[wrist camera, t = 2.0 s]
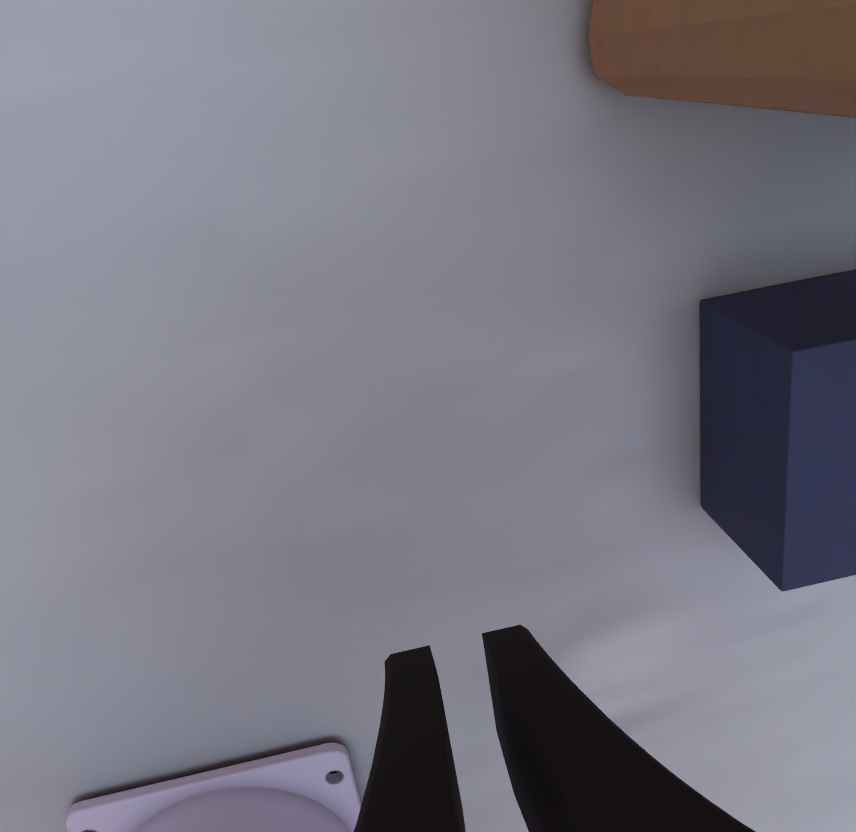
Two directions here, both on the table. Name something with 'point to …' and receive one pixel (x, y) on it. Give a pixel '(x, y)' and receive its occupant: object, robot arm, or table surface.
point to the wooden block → (730, 52)
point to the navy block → (783, 426)
